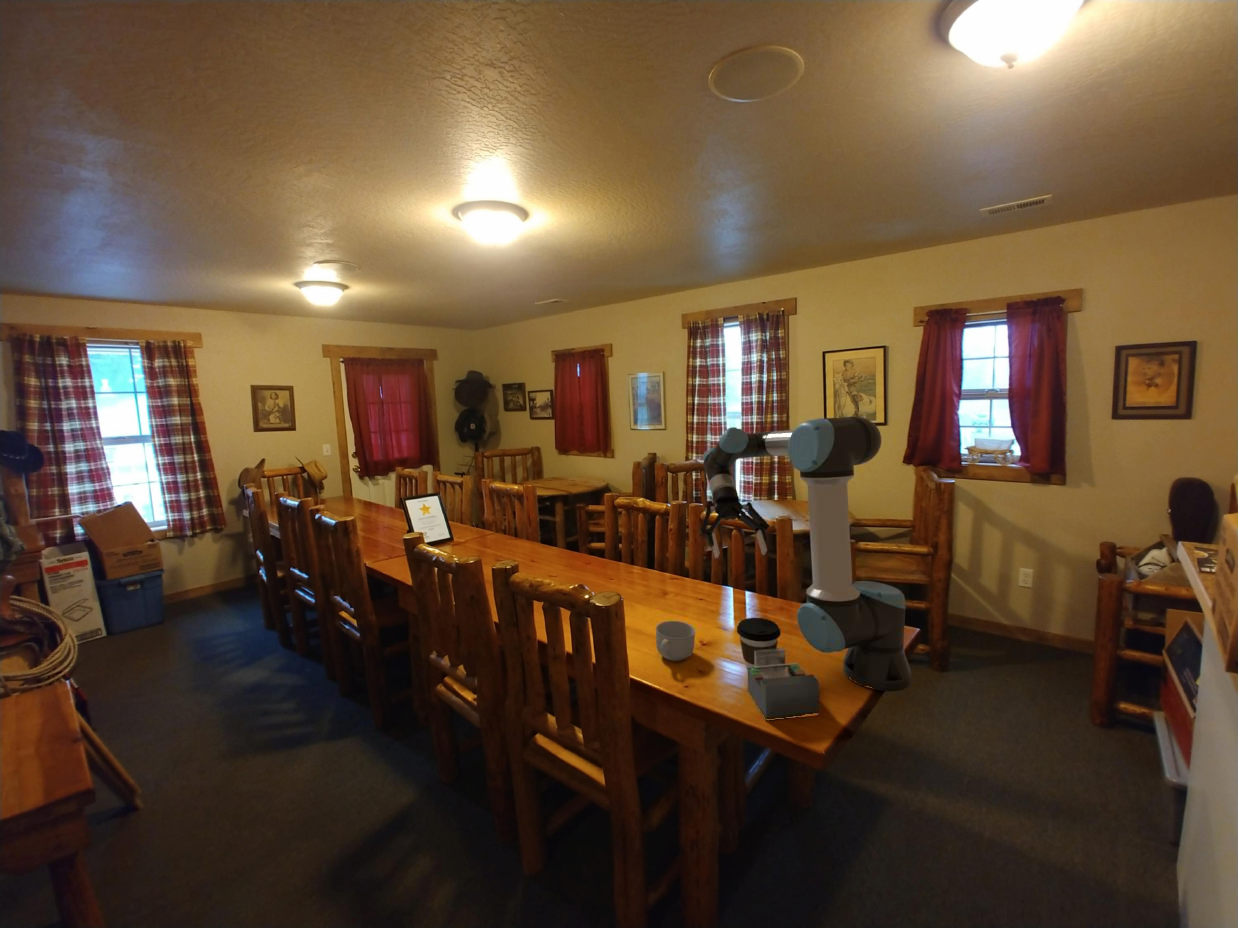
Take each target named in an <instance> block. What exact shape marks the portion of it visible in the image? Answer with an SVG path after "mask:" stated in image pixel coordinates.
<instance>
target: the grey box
mask: <svg viewBox="0 0 1238 928" xmlns="http://www.w3.org/2000/svg"><path fill="white" fill-rule="evenodd" d="M787 670H788V672H789V673H790V674H791V675H792V677H781V678H771V679H763V676H762V675H761V673H760V672H759V670H752V668H748V670H747V692H749V693H750V694H749V693H748V694H749V696H750V695H751V696H750V697H752V698H753V699H752V698H751V699H752V700H754V701H755V703H756V704H755V703H754V704H755V706H756V705H757V706H758V708H759V709H760V711H761V712H762V714H763V715H764V717H765V719H775V718H786V717H793V716H802V715H805V714H813V713H819V711H820V710H819V708H820V707H819V706H820V705H819V704H820V703H819V701H820V681H818V679H817V678H816V677H815V676H814V674H807V675H806V672H805V671H804V670H803V669H802V668H801V666H799V664H798V666H791V667H787ZM754 701H753V702H754ZM757 706H756V707H757ZM758 708H757V709H758ZM759 709H758V710H759ZM760 711H759V712H760ZM761 712H760V713H761ZM762 714H761V715H762ZM764 717H763V718H764ZM765 719H764V720H765Z"/></svg>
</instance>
